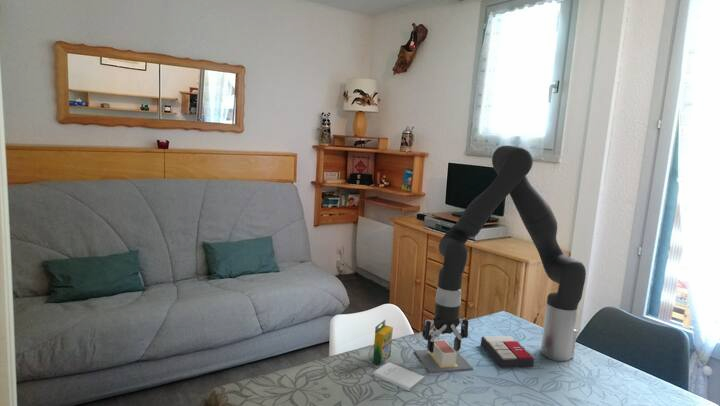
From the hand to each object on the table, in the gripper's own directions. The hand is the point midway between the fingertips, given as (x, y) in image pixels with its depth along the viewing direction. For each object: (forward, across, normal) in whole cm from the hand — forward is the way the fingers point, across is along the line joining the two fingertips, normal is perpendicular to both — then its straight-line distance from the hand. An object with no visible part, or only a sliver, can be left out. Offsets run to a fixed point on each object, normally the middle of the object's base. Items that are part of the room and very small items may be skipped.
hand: (443, 350), depth 139 cm
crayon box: (+3, -19, +3) cm, 20 cm away
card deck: (+3, 0, 0) cm, 3 cm away
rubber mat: (+3, 0, 0) cm, 3 cm away
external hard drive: (+4, -17, -8) cm, 19 cm away
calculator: (+4, +22, 0) cm, 23 cm away
